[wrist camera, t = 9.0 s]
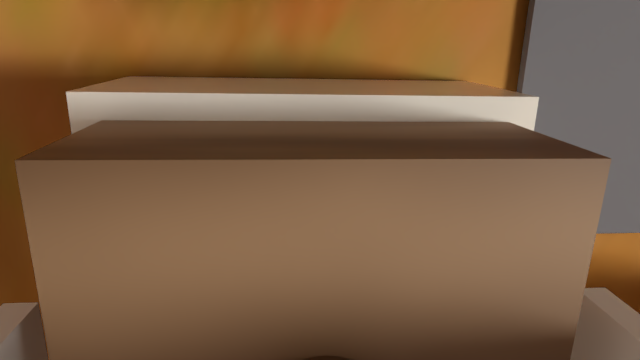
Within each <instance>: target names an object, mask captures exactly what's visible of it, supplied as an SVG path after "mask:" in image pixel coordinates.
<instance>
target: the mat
mask: <svg viewBox="0 0 640 360" xmlns="http://www.w3.org/2000/svg"><path fill="white" fill-rule="evenodd" d="M517 92H519V93H523V94H528V95H532V96H537V97H539V101H538V108H537V114H536V121H535V127H534V131H535V132H538V133H541V134H544V135H547V136H549V137H552V138H555V139H558V140H561V141H564V142H566V143H569V144H572V145H575V146H578V147H580V148H583V149H586V150H589V151H592V152H594V153H597V154H600V155H603V156H606V157H609V158H611V159H612V160H611V164H610V169H609V174H608V179H607V184H606V189H605V193H604V198H603V203H602V208H601V213H600V218H599V222H598V227H597V232H596V233H640V0H529V7H528V14H527V21H526V28H525V35H524V42H523V49H522V56H521V63H520V70H519V77H518V85H517Z"/></svg>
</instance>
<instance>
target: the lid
mask: <svg viewBox="0 0 640 360" xmlns="http://www.w3.org/2000/svg"><path fill="white" fill-rule="evenodd" d="M611 160H612V159H611V158H609V157H606V156H603V155H600V154H597V153H594V152H592V151H589V150H586V149H583V148H580V147H578V146H575V145H572V144H569V143H566V142H564V141H561V140H558V139H555V138H552V137H549V136H547V135H544V134H541V133H538V132H535V131H533V130H530V129H527V128H524V127H521V126H518V125H516V124H513V123H510V122H376V121H152V120H101V121H99V122H97V123H95V124H93V125H90V126H88V127H86V128H84V129H82V130H80V131H77V132H75V133H73V134H71V135H69V136H66V137H64V138H62V139H60V140H58V141H56V142H53V143H51V144H49V145H47V146H45V147H43V148H40V149H38V150H36V151H34V152H32V153H30V154H27V155H25V156H23V157H21V158H19V159H17V160H15V166H16V172H17V178H18V183H19V189H20V195H21V200H22V206H23V212H24V217H25V223H26V229H27V234H28V240H29V246H30V252H31V257H32V263H33V269H34V274H35V280H36V286H37V291H38V297H39V303H40V308H41V314H42V320H43V326H44V331H45V337H46V343H47V348H48V354H49V360H570V358H571V353H572V348H573V344H574V339H575V334H576V329H577V324H578V319H579V314H580V310H581V305H582V300H583V295H584V290H585V285H586V281H587V276H588V271H589V266H590V261H591V256H592V252H593V247H594V242H595V237H596V232H597V227H598V222H599V218H600V213H601V208H602V203H603V198H604V193H605V189H606V184H607V179H608V174H609V169H610V164H611Z"/></svg>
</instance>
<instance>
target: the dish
mask: <svg viewBox="0 0 640 360" xmlns="http://www.w3.org/2000/svg"><path fill="white" fill-rule="evenodd" d="M66 97H67V104H68V112H69V119H70V126H71V134H73V133H75V132H77V131H80V130H82V129H84V128H86V127H88V126H90V125H93V124H95V123H97V122H99V121H101V120H152V121H376V122H510V123H513V124H516V125H518V126H521V127H524V128H527V129H530V130H533V131H534V127H535V121H536V114H537V108H538V101H539V97H537V96H532V95H528V94H523V93H519V92H514V91H509V90H505V89H500V88H496V87H491V86H487V85H482V84H477V83H473V82H468V81H432V80H362V79H291V78H221V77H150V76H128V77H124V78H119V79H115V80H111V81H107V82H103V83H99V84H95V85H91V86H87V87H83V88H79V89H75V90H71V91H67V92H66Z"/></svg>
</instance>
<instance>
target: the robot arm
mask: <svg viewBox="0 0 640 360" xmlns="http://www.w3.org/2000/svg"><path fill="white" fill-rule="evenodd" d="M0 360H48V354H47V348H46V343H45V337H44V332H43V326H42V321H41V315H40V309H39V304H38V302H34V303H3V304H2V305H1V306H0ZM570 360H640V314H639V313H638V312H636V311H635V310H634V309H632V308H631V307H630V306H629V305H627V304H626V303H625V302H623V301H622V300H621V299H619V298H618V297H617V296H616V295H614V294H613V293H612V292H610V291H609V290H608V289H606V288H585V290H584V295H583V300H582V305H581V310H580V314H579V319H578V324H577V329H576V334H575V339H574V344H573V348H572V353H571V358H570Z"/></svg>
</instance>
